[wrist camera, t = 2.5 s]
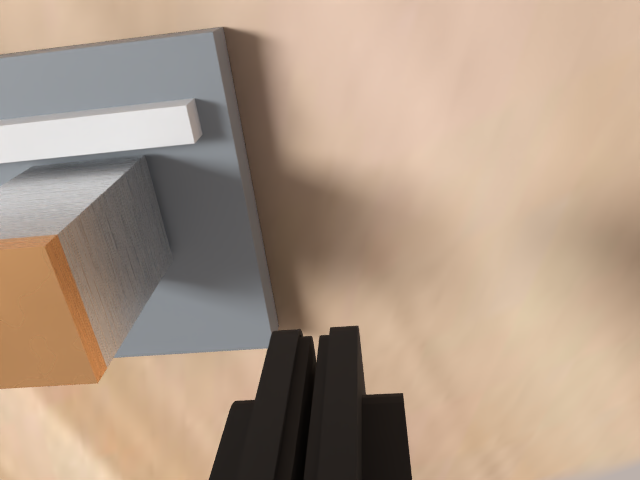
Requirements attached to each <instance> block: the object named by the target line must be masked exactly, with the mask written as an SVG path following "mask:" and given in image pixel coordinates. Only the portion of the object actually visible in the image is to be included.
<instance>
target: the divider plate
mask: <svg viewBox="0 0 640 480" xmlns="http://www.w3.org/2000/svg"><path fill="white" fill-rule="evenodd" d="M138 155H145V158H146V161H147V165H148V169H149V172H150V176H151V180H152V183H153V187H154V191H155V194H156V198H157V202H158V205H159V209H160V213H161V216H162V220H163V224H164V227H165V231H166V235H167V238H168V242H169V246H170V249H171V253H172V257H173V261H172V262H171V264H170V266H169V267H168V269H167V271H166V272H165V274H164V276H163V277H162V279H161V280H160V282H159V284H158V285H157V287H156V289H155V290H154V292H153V294H152V295H151V297H150V298H149V300H148V302H147V303H146V305H145V307H144V308H143V310H142V312H141V313H140V315H139V316H138V318H137V320H136V321H135V323H134V325H133V326H132V328H131V330H130V331H129V333H128V334H127V336H126V338H125V339H124V341H123V343H122V344H121V346H120V348H119V349H118V351H117V352H116V354H115V356H114V357H113V358H118V357H134V356H150V355H166V354H183V353H199V352H215V351H231V350H247V349H263V348H268V346H269V341H270V337H271V334H272V332H273V331H278V327H279V325H278V319H277V314H276V308H275V303H274V298H273V292H272V287H271V282H270V276H269V271H268V265H267V260H266V255H265V249H264V244H263V239H262V233H261V228H260V222H259V217H258V212H257V206H256V201H255V196H254V190H253V185H252V179H251V174H250V169H249V163H248V158H247V153H246V147H245V142H244V136H243V131H242V126H241V120H240V115H239V110H238V104H237V99H236V93H235V88H234V83H233V77H232V72H231V67H230V61H229V56H228V50H227V45H226V40H225V34H224V29H223V27H218V28H210V29H202V30H194V31H186V32H178V33H170V34H162V35H154V36H146V37H138V38H130V39H122V40H113V41H105V42H97V43H89V44H81V45H73V46H65V47H57V48H49V49H41V50H33V51H25V52H17V53H9V54H1V55H0V186H2V185H3V184H5V183H6V182H8V181H10V180H11V179H13V178H14V177H16V176H18V175H19V174H21V173H22V172H24V171H25V170H27V169H29V168H30V167H32V166H39V165H49V164H59V163H69V162H79V161H89V160H98V159H108V158H118V157H128V156H138Z"/></svg>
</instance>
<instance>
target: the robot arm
mask: <svg viewBox="0 0 640 480" xmlns="http://www.w3.org/2000/svg"><path fill="white" fill-rule="evenodd" d="M209 480H412V475H411V465H410V455H409V446H408V436H407V427H406V417H405V408H404V398H403V393H395V394H374V395H366V391H365V382H364V372H363V363H362V353H361V344H360V334H359V327H358V326H346V327H331V328H330V333H329V335H321V336H320V338H319V346H318V355H317V363H316V356H315V349H314V343H313V338H312V336H304V337H303V334H302V331H301V329H297V330H280V331H273V332H272V334H271V337H270V341H269V346H268V350H267V354H266V358H265V362H264V366H263V370H262V374H261V378H260V382H259V386H258V390H257V394H256V398H255V400H245V401H235V402H234V403H233V404H232V406H231V408H230V411H229V415H228V418H227V421H226V424H225V428H224V431H223V434H222V438H221V441H220V444H219V448H218V451H217V454H216V458H215V461H214V464H213V468H212V471H211V474H210V478H209Z"/></svg>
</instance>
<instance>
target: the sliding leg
mask: <svg viewBox="0 0 640 480" xmlns="http://www.w3.org/2000/svg"><path fill="white" fill-rule="evenodd" d="M172 261H173V257H172V253H171V249H170V246H169V242H168V238H167V235H166V231H165V227H164V224H163V220H162V216H161V213H160V209H159V205H158V202H157V198H156V194H155V191H154V187H153V183H152V180H151V176H150V172H149V169H148V165H147V161H146V158H145V155H138V156H128V157H118V158H108V159H98V160H89V161H79V162H69V163H59V164H49V165H39V166H32V167H30V168H29V169H27V170H25V171H24V172H22V173H21V174H19V175H18V176H16V177H14V178H13V179H11V180H10V181H8V182H6V183H5V184H3V185H2V186H0V389H6V388H23V387H41V386H58V385H76V384H93V383H98V382H99V380H100V379H101V377H102V375H103V374H104V372H105V370H106V369H107V367H108V366H109V364H110V362H111V361H112V359H113V357H114V356H115V354H116V352H117V351H118V349H119V348H120V346H121V344H122V343H123V341H124V339H125V338H126V336H127V334H128V333H129V331H130V330H131V328H132V326H133V325H134V323H135V321H136V320H137V318H138V316H139V315H140V313H141V312H142V310H143V308H144V307H145V305H146V303H147V302H148V300H149V298H150V297H151V295H152V294H153V292H154V290H155V289H156V287H157V285H158V284H159V282H160V280H161V279H162V277H163V276H164V274H165V272H166V271H167V269H168V267H169V266H170V264H171V262H172Z"/></svg>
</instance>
